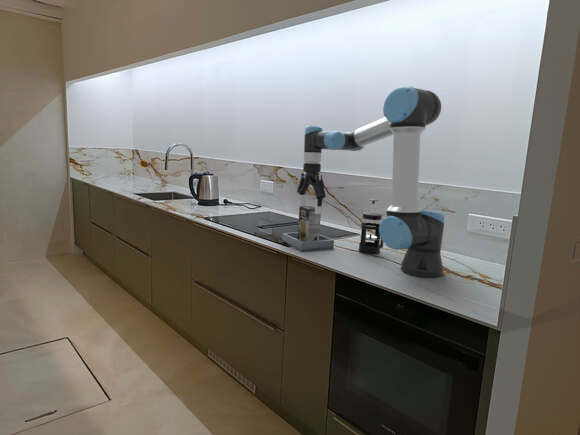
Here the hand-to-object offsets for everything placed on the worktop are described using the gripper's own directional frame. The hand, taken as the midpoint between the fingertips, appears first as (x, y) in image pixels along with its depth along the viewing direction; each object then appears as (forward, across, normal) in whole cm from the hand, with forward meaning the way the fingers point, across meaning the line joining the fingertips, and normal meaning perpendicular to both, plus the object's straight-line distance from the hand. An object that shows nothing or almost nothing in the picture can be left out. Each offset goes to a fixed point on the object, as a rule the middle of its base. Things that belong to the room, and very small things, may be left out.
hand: (309, 211), depth 180 cm
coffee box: (+15, 0, 0) cm, 15 cm away
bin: (+15, +1, 0) cm, 15 cm away
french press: (+16, -17, -21) cm, 32 cm away
